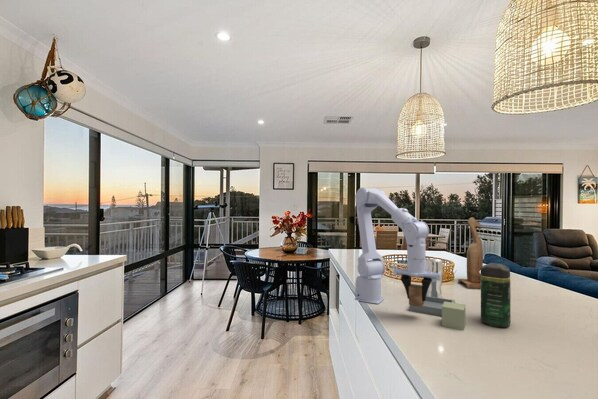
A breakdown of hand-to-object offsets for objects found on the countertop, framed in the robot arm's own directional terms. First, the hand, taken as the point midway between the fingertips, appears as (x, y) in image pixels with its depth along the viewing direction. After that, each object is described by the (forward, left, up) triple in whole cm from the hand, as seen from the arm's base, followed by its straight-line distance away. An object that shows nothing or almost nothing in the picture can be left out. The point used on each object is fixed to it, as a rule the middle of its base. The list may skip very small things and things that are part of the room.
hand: (416, 299), depth 100 cm
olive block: (+11, 0, -6) cm, 13 cm away
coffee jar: (+22, +9, -6) cm, 25 cm away
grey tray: (+3, +12, -6) cm, 14 cm away
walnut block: (0, 0, -2) cm, 2 cm away
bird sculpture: (+14, +56, -6) cm, 58 cm away
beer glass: (+1, +28, -6) cm, 29 cm away
